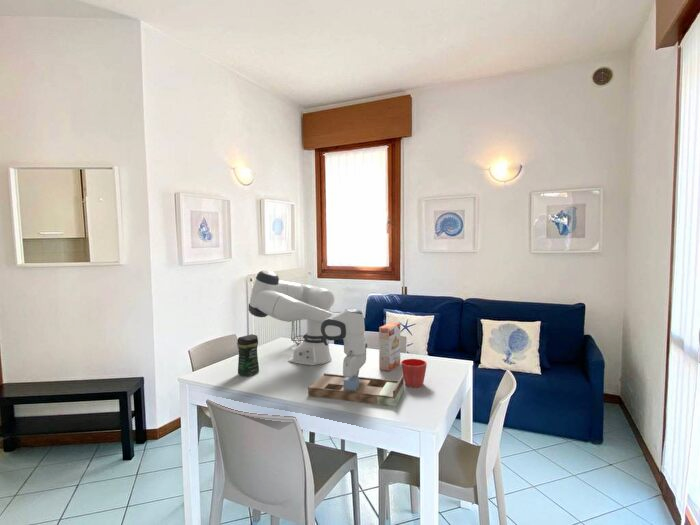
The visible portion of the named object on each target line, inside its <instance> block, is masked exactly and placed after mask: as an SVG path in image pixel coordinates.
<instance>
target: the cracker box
mask: <svg viewBox="0 0 700 525" xmlns="http://www.w3.org/2000/svg"><path fill="white" fill-rule="evenodd" d="M378 330H379V331H378V332H379V333H378V337H379V338H378V343H379V345H378V355H379V357H378V361H379V362H378V366H379V370H381V371H386V372H390V371H392V370H393V369H395V368H396V367H397V366H399V365H400V364H401V323H399V322H393V321H391V322H388V323H387V324H383V325H382V326H379V327H378Z"/></svg>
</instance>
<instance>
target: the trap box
mask: <svg viewBox="0 0 700 525" xmlns="http://www.w3.org/2000/svg"><path fill="white" fill-rule="evenodd" d="M358 377H359V388H358V389H357V390H356V391H350V390H344V384H343V380H344V379H345V378H346V377H344V376H343V374H332V373H323V374H322V376H321V377H320V378H318V379H317V380H316V381H315V382H314V383H313V384H312V385H310V386H308V387H307V396H308V397H313V398H315V397H316V398H322V399H323V398H324V399H331V400H339V401H345V402H346V401H348V402H355V403H363V404H372V405H380V406H386V407H396V406H397V404H398V402H399V400H400V399H401V396H402V395H403V393H404V390H405V381H404V376H403V375H401V376H400V378H399V379H398V380H396V379H395V380H394V379H385V378H383V379H382V378H376V377H375V378H374V377H373V378H372V377H364V376H358Z"/></svg>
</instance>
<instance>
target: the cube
mask: <svg viewBox="0 0 700 525" xmlns="http://www.w3.org/2000/svg"><path fill="white" fill-rule="evenodd" d="M359 377H360V376H358V377H354V376H353V377H352V378H348V377H346V378H345V379H344V380H343V384H344V390H350V391H356V390H357V389H358V388H359Z"/></svg>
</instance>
